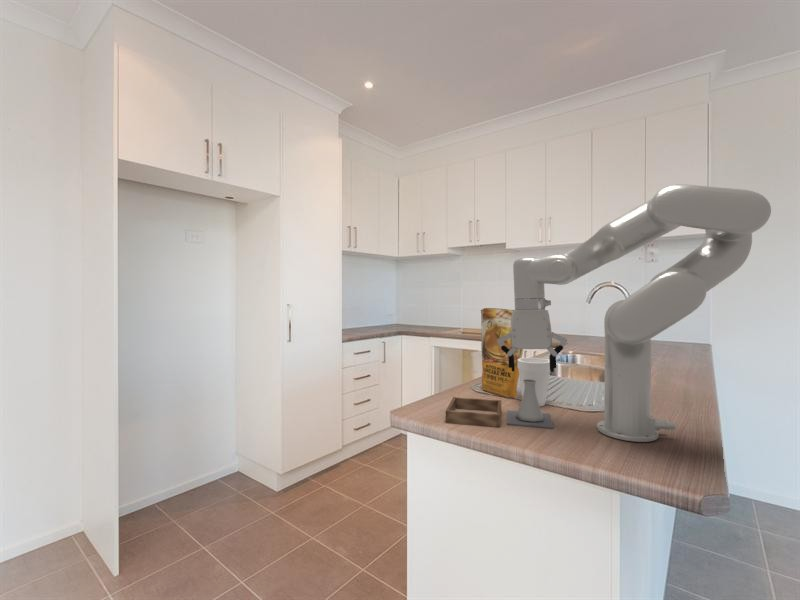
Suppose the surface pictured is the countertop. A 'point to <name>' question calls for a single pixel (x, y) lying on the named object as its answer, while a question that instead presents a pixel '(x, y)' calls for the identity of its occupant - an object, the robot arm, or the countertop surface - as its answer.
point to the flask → (529, 404)
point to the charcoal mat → (542, 424)
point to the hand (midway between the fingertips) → (532, 370)
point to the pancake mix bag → (498, 354)
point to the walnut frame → (474, 417)
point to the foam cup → (535, 375)
